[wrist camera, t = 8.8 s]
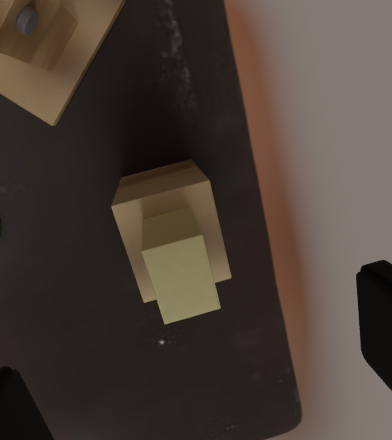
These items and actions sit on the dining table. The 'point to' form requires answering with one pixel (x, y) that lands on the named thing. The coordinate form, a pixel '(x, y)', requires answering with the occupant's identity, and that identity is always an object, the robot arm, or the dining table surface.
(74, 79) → the slicer
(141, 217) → the stand
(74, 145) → the dining table surface
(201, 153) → the dining table surface
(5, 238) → the dining table surface
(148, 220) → the butter
